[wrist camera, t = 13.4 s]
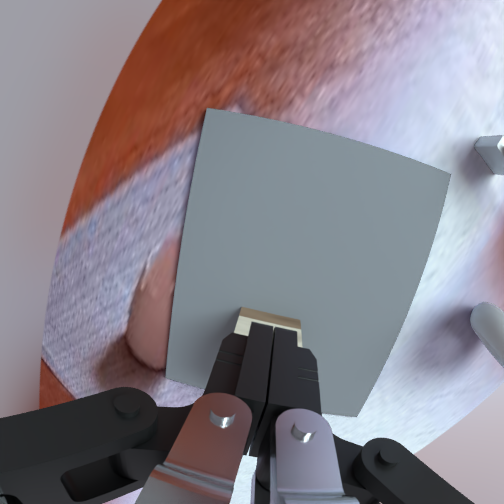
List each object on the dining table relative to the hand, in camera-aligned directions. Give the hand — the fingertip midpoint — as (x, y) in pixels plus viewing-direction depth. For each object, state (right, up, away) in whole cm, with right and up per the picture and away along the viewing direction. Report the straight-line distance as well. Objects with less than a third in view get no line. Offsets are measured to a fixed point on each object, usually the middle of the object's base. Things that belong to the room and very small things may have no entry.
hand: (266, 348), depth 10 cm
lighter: (+25, +12, +15) cm, 32 cm away
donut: (+27, -5, +20) cm, 34 cm away
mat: (+4, -1, +21) cm, 21 cm away
